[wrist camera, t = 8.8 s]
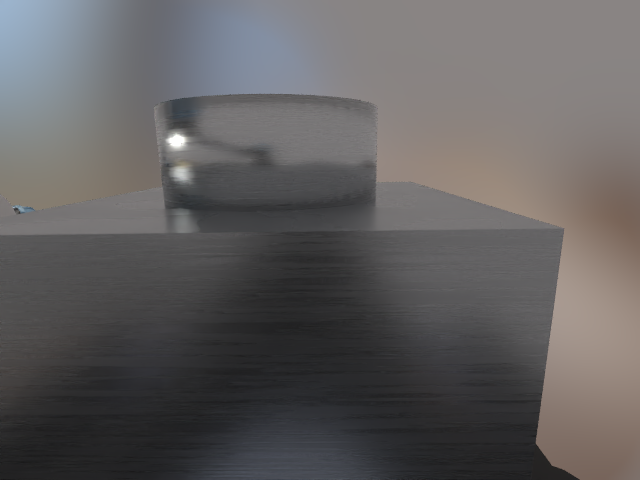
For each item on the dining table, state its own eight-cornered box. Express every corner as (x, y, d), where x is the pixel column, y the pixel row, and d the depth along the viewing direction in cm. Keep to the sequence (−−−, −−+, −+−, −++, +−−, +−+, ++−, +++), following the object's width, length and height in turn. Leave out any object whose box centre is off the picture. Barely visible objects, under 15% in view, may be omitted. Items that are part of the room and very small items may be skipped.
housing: (208, 561, 14) (163, 127, 10) (395, 562, 14) (413, 123, 10) (96, 954, 7) (-142, 75, 4) (465, 960, 7) (585, 61, 4)
